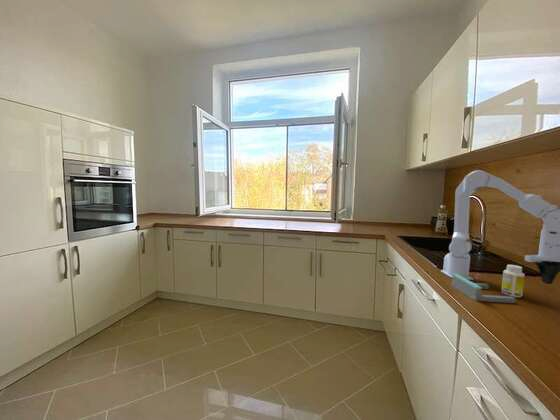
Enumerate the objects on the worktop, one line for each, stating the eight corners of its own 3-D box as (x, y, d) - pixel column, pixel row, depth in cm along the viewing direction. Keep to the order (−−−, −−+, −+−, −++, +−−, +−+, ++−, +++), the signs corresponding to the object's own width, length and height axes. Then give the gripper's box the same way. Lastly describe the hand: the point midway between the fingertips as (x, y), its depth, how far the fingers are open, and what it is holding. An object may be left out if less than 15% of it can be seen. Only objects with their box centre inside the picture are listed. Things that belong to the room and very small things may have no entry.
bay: (451, 285, 96) (452, 273, 96) (485, 287, 95) (486, 275, 95) (475, 300, 83) (476, 287, 83) (515, 303, 82) (516, 289, 82)
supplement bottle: (522, 294, 90) (525, 266, 89) (522, 299, 86) (525, 269, 85) (501, 290, 93) (504, 262, 93) (500, 294, 89) (503, 265, 88)
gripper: (539, 245, 84) (535, 286, 85) (587, 247, 83) (582, 288, 84) (521, 241, 91) (517, 278, 92) (565, 243, 90) (560, 280, 91)
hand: (546, 282), depth 88 cm, fingers closed
